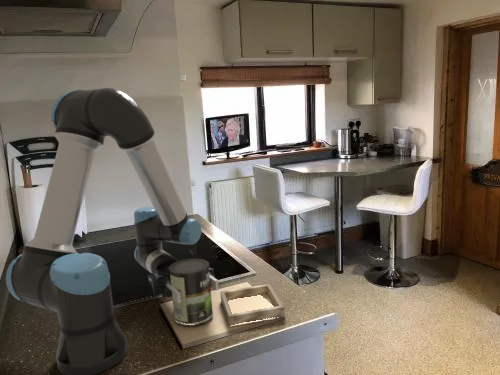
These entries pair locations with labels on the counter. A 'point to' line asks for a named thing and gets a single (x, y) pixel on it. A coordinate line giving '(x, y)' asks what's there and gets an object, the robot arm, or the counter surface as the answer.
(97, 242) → the counter surface
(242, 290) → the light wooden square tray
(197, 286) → the coffee can
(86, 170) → the robot arm
